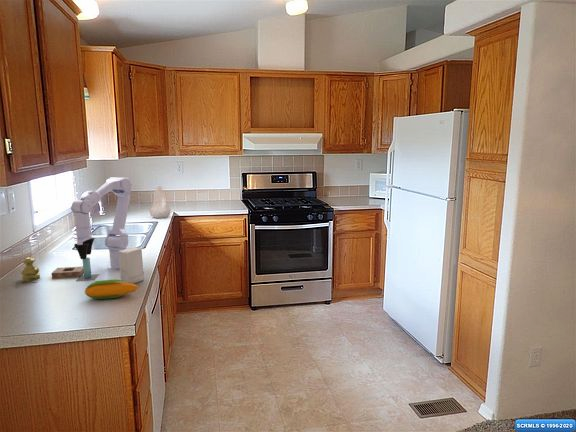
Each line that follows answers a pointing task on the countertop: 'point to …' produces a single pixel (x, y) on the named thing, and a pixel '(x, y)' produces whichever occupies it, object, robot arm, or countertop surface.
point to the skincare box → (131, 265)
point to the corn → (109, 289)
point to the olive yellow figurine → (29, 271)
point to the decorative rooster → (159, 204)
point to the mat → (93, 277)
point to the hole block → (68, 272)
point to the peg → (87, 268)
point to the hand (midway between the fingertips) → (85, 256)
